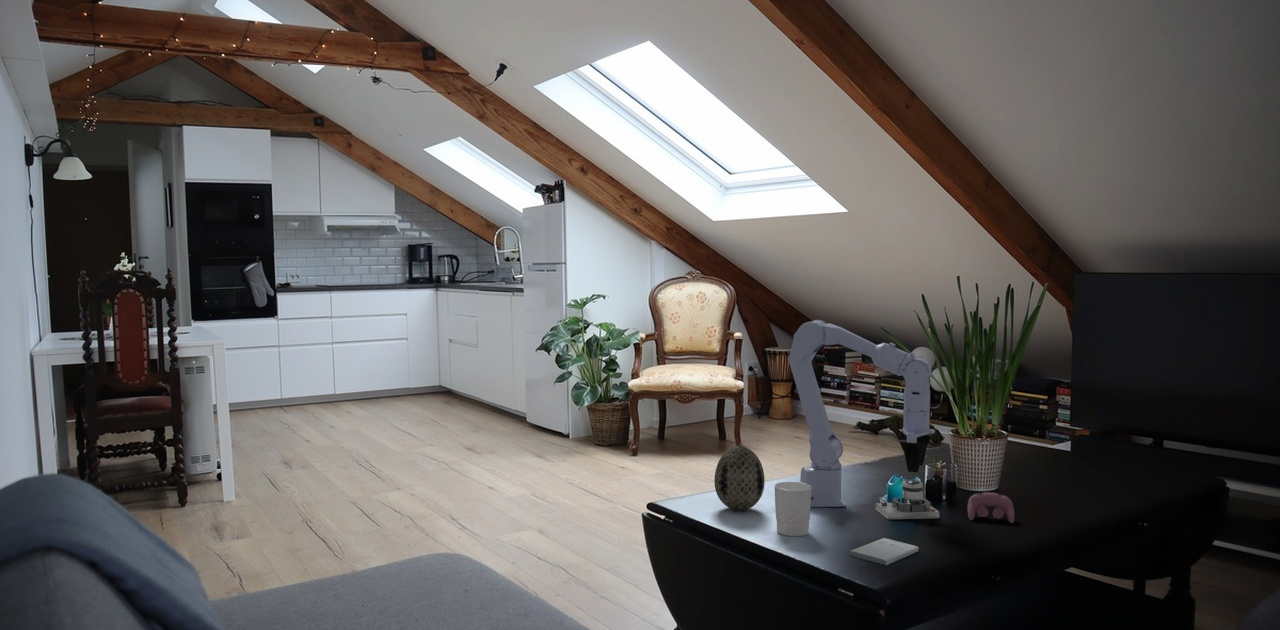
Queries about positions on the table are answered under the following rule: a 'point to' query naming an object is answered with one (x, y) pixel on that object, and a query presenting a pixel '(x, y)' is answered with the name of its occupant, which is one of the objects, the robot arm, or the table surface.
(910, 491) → the lens
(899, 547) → the external hard drive
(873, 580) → the table surface
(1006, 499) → the video game controller
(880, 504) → the white display stand
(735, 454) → the decorative egg
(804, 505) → the white cup
